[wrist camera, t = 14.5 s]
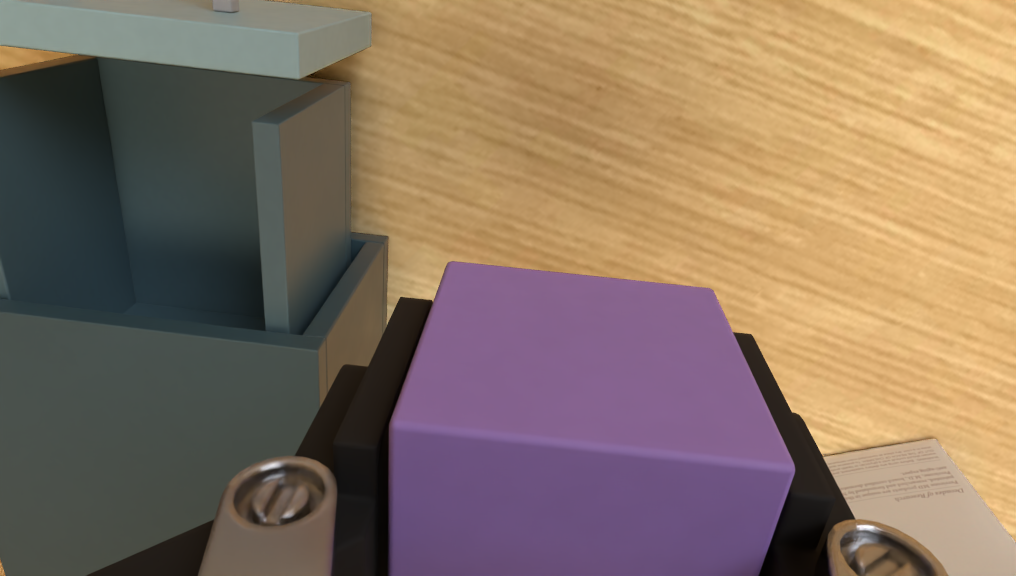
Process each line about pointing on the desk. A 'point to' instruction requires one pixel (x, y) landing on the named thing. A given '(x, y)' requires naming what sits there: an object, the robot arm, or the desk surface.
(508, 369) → the purple rounded cube
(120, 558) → the drawer cabinet
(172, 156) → the pull-out drawer
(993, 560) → the white packaging box
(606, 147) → the desk surface
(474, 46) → the desk surface
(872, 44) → the desk surface
